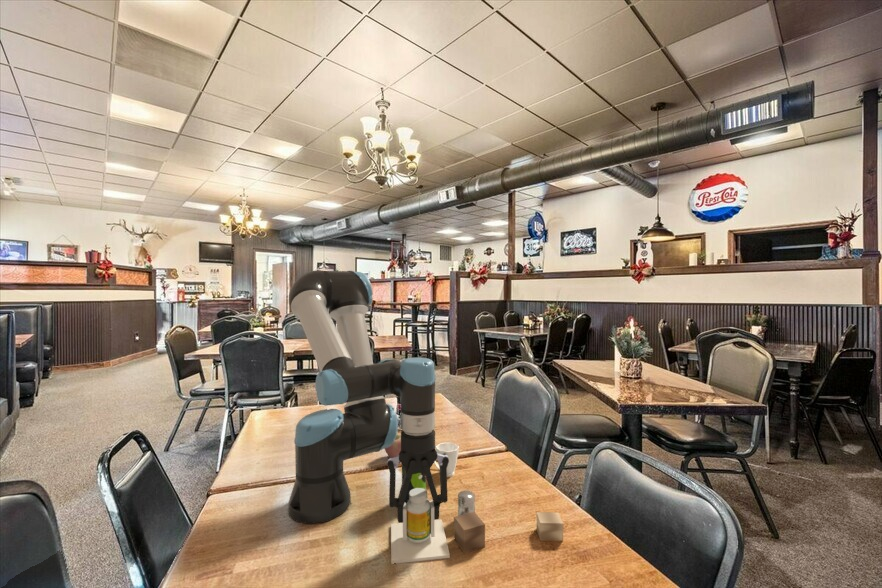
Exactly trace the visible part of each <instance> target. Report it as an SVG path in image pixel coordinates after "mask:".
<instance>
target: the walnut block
mask: <svg viewBox="0 0 882 588" xmlns="http://www.w3.org/2000/svg"><path fill="white" fill-rule="evenodd" d="M453 518H454V519H453V527H454V528H453V530H454V531H453V532H454V533H453V535H454V537H453V538H455V539H454V541H455V542H456V543H457V545H458V546H459V548H460V549H461V551H462V553H464V554H466V553H465V552H467V553H470V552H473V551H475V550H480V549H483V548H485V547H486V523H485V522H484V521H483V520H482V518H480V517H479V516H478V514H477V513H476V511H475V512H471V513H467V514H463V515H459V516H458V515H455V516H454V517H453Z"/></svg>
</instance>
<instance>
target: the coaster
mask: <svg viewBox="0 0 882 588" xmlns="http://www.w3.org/2000/svg"><path fill="white" fill-rule="evenodd" d="M444 528H445V527H444V522H443V519H436V520H434V537H431V534H430V537H429V538H428V539H427V540H426V541H424V542H419V543H415V542H412V541H410V540H409V539H408V538H407V539H406V540H403V523H398V522H397V523H396V522H395V523H390V544H391V545H390V546H391V547H390V552H391V553H390V554H391V555H390V557H391V558H390V560H391V561H390V563H391V565H394V563H396V564H404V563H413V562H424V561H425V562H426V561H435V560H443V559H449V558H451V557H450V555H451V554H450V550H449V546H448V542H447V541H448V539H447V538H446V533H445V529H444Z"/></svg>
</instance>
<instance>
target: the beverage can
mask: <svg viewBox="0 0 882 588" xmlns="http://www.w3.org/2000/svg"><path fill="white" fill-rule="evenodd" d="M404 474H405V467H404V466H403V465H402V464H401V483H402V482H403V478H404ZM426 480H427V478H426V475H425V473H423V474H422V473H417V474H412V478H411V480H410V484H409V487H408V491H407V495H406V499H405V502H404V503H406V504H407V502H408V500H409V492H410V491H411V490H412V489H415V488H423V489H425V490H426V491H427V488H426V485H427V483H426Z"/></svg>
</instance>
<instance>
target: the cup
mask: <svg viewBox="0 0 882 588" xmlns="http://www.w3.org/2000/svg"><path fill="white" fill-rule="evenodd" d="M435 450H436V451H437V453H438V454H442V455H443V454H444V453H446V454H447V456H448V459H449V463H448V466H447V478H449V477H453V476H454V475H455V474H456V473H455V469H456V468H457V467H456V466H457V462H458V456H459V451H460V446H459V445H458V444H456V443H455V442H449V441H446V442H441V443H438V444H437V445H436V444H435ZM433 465H435V466H436V468H437V469H438V471H440V465H439V464H438V461H437V460H436V461H435V462H434V463H433Z"/></svg>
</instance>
